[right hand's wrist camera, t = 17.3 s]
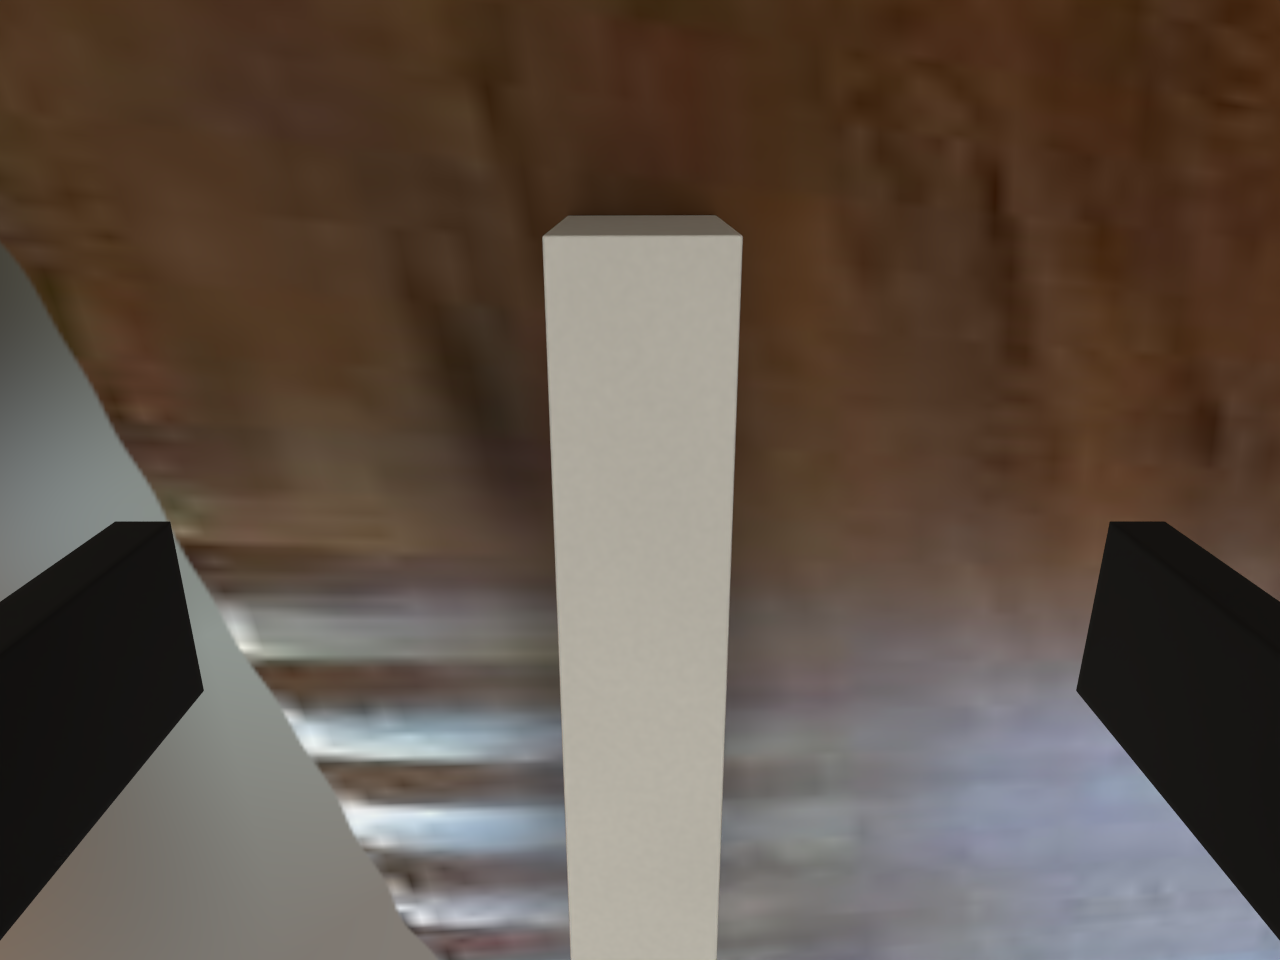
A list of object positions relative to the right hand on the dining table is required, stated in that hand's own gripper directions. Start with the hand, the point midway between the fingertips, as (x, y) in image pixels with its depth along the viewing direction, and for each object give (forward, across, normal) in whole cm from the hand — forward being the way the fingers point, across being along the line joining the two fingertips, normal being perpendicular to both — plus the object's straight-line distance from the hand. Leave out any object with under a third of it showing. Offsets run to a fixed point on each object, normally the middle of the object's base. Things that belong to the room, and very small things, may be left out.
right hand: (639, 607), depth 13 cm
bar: (+24, 0, -12) cm, 27 cm away
